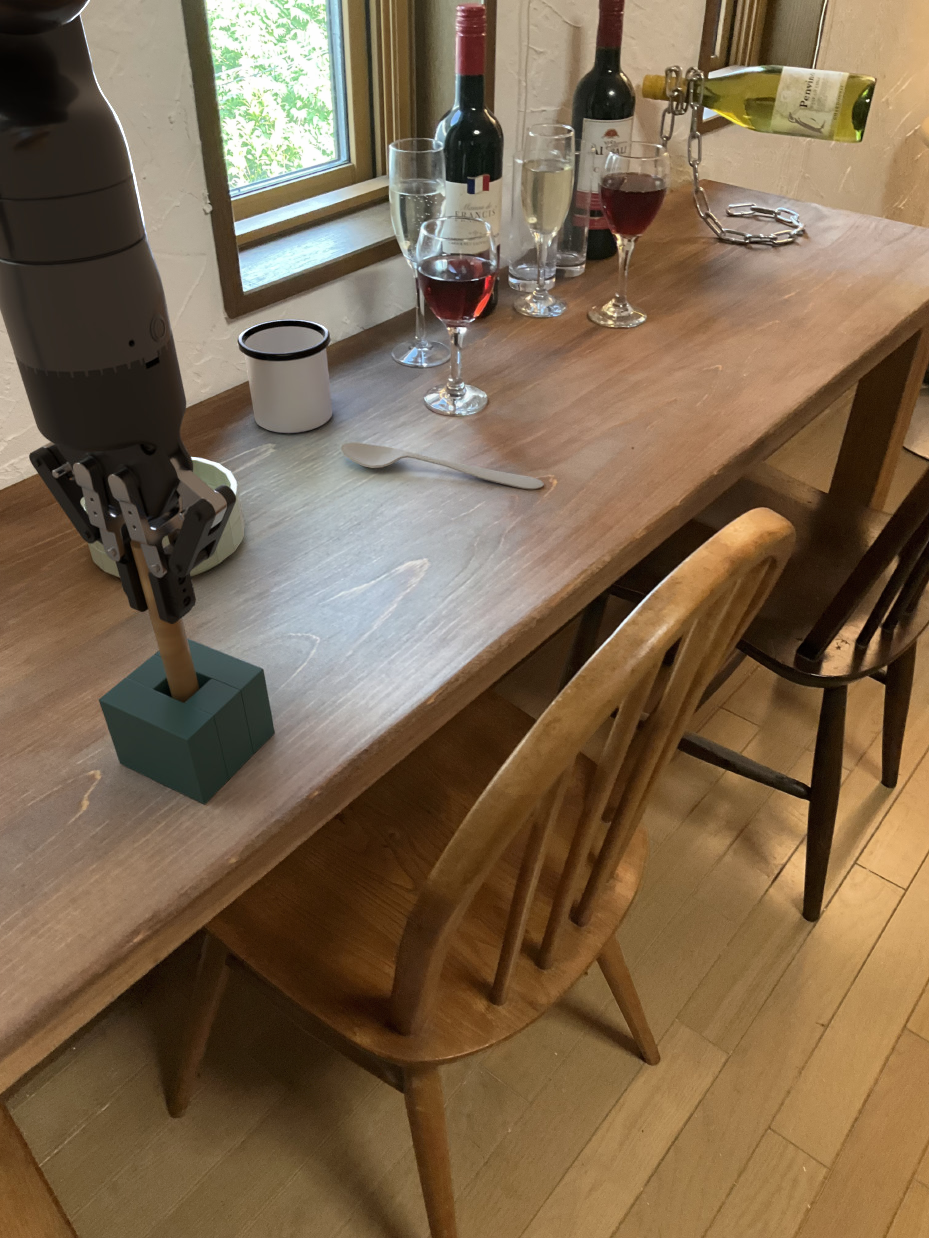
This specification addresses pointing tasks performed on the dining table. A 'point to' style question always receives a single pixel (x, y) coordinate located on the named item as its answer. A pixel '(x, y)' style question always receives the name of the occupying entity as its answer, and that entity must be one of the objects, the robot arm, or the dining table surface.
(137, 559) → the stick
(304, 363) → the mug
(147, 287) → the robot arm
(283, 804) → the dining table surface
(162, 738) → the holder
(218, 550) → the bowl
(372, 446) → the spoon
